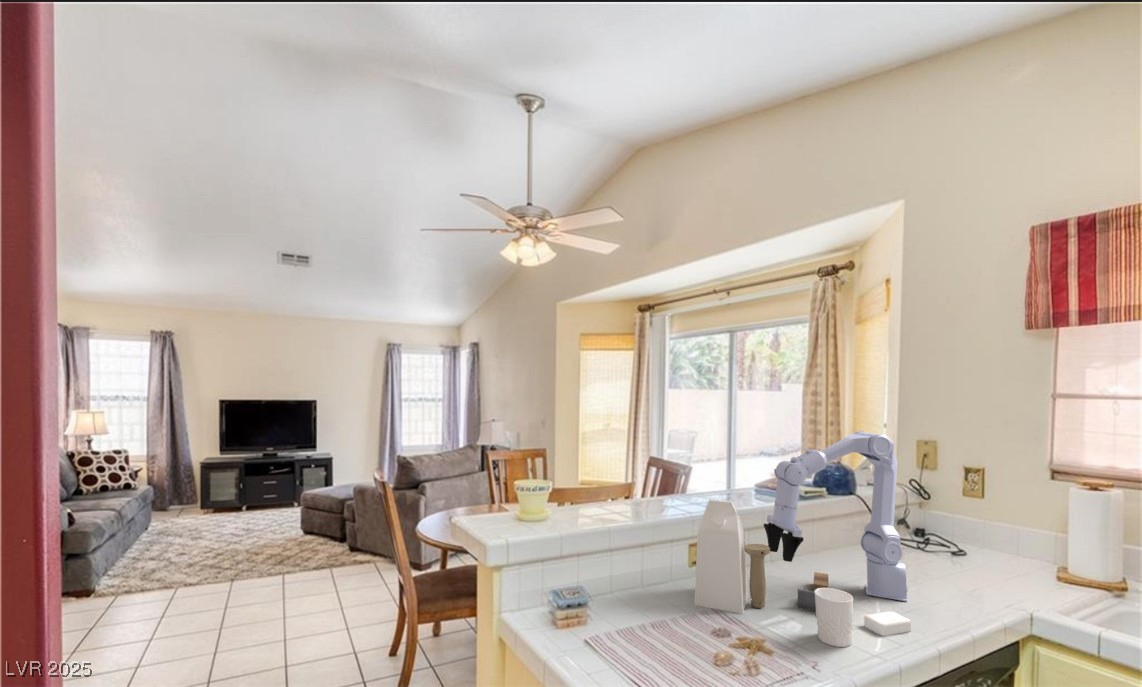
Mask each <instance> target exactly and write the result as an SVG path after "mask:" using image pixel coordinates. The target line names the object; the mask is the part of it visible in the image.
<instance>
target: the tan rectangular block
mask: <svg viewBox="0 0 1142 687" xmlns="http://www.w3.org/2000/svg"><path fill="white" fill-rule="evenodd" d="M813 574H814V575H813V584H812V586H813V587H812V588H813V589H812V590H813V591H814V592H815V590H816V589H818V588H830V587H829V574H828V573H823V572H817V571H813Z"/></svg>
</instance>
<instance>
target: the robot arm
mask: <svg viewBox="0 0 1142 687" xmlns="http://www.w3.org/2000/svg"><path fill="white" fill-rule="evenodd" d="M851 453H858V454H859V455H861V456H863V457H865V458H866V460H868V461H869V462H870V463H871V464H872V465H873V466H874V472H873V473H874V474H873V487H872V500H871V502H872V503H871V515H870V522H869V523H867V524H866V525H865V526H864V530H863V533H862V535H861V537H860V541H859V542H860V547H861V549H862V550H863V551H864V552H865V556H866V581H867V583H865V594H866V595H868V596H873V597H876V598H877V597H879V598H885V599H890V600H896V601H901V602H908V595H907V594H908V585H907V570H906V569H907V568H906V564H905V563H903V562H900V561H901V560H902V557H903V554H904V551H903V550H904V549H903V547H902V544H901V543H902V542H901V536H900V534H899V533H898V531H897V530H896V529H895V527H894V526H895V523H894V522H895V510H896V508H895V506H896V496H897V495H896V494H897V492H896V491H897V480H898V479H897V478H898V464H899V463H898V459H897V456H896V454H895V442H893V441H892V440H891V439H890V438H889V437H888V436H887V435H885V434H883V433H872V432H867V431H864V430H858V431H855V432H854V433H849V434H848V435H847V436H845V437H844V438H843V439H840V440H839V441H837V442H835V443H833V444H831V445H829V446H827V447H825V448H824V449H821V450H820V451H819V450H817V449H811V448H809V449H806V450H805V453H803V454H801V455H798V456H797V457H795V456H793V457H791V458H790V460H789V461H788V460H783V461H780V462H779V463H778V465H777V466H776V467H775V468H774V469H773V470H774V471H773V473H774V476H775V478H776V491H775V499H774V508H773V515H772V514H767V515H766V516H767V517H766V522H767V523H763V528H764V530H765V533H766V538H767V544H768V545H767V546H768V547H770V552H771V553H772V552H773V553H778V551H779V548H780V542H782V560H783V561H784V562H790V563H791V562H793V559H794V557H795V554H796V552H797V550H798V549H799V547H800V545H801V543H803V542H804V537H802V534H803V532H802V531H803V530H802V529H800V528H799V526H798V525H797V524H796V522H797V513H798V505H799V504H798V503H799V496H800V495H799V494H800V486H801V485H803V483H804V482H805V480H806V478H808V477H810V476H813V475H814V474H816V473H819V472H820V471H823V470H825V469H826V467H827V464H828V463H830V462H832V461H834V460H836V459H838V458H841V457H844V456H847V455H849V454H851Z"/></svg>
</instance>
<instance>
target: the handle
mask: <svg viewBox="0 0 1142 687" xmlns="http://www.w3.org/2000/svg"><path fill="white" fill-rule="evenodd" d="M744 550H745V554H748V555H749V557H750V565H749V566H750V567H749V568H750V569H749V594H750V603H751V606H752V607H754V608H755V609H763V608H764V607H765V606H766V605H765V604H766V593H767V590H766V588H767V587H766V573H765V557H766V556H767V555H769V554H770V552H771V551H770V547H768V545H766V544H763V543H762V544H760V543H749V544H745V546H744Z"/></svg>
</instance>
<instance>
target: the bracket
mask: <svg viewBox="0 0 1142 687" xmlns="http://www.w3.org/2000/svg"><path fill="white" fill-rule="evenodd" d="M797 608H798V609H800V608H802V610H805V609H807V611H811V610H814V611H813V612H816V607H815V592H814V591H811V590H809V588H807V587H804V588H803V589H802V588H797ZM808 609H809V610H808Z"/></svg>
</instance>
